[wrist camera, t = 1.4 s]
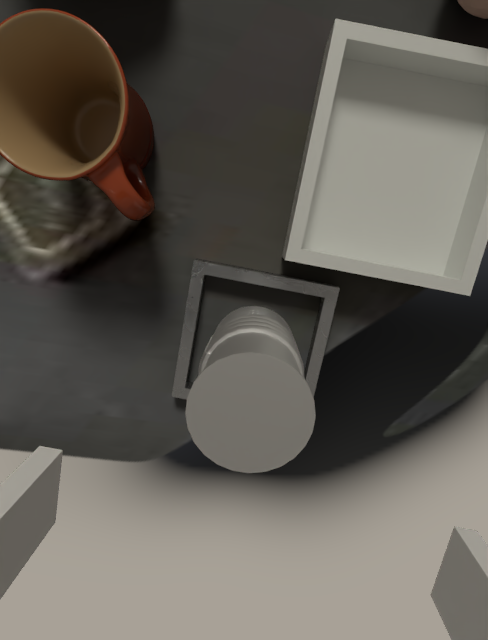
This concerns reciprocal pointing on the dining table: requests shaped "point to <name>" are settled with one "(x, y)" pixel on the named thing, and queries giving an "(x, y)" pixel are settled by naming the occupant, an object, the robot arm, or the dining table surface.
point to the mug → (72, 108)
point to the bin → (395, 160)
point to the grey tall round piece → (251, 394)
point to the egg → (475, 7)
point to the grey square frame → (259, 278)
